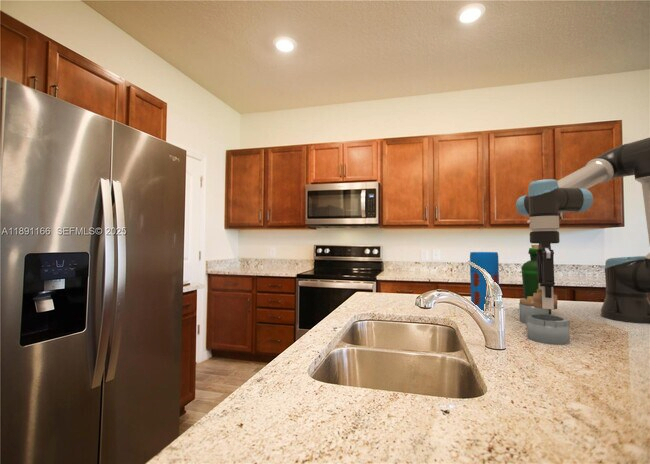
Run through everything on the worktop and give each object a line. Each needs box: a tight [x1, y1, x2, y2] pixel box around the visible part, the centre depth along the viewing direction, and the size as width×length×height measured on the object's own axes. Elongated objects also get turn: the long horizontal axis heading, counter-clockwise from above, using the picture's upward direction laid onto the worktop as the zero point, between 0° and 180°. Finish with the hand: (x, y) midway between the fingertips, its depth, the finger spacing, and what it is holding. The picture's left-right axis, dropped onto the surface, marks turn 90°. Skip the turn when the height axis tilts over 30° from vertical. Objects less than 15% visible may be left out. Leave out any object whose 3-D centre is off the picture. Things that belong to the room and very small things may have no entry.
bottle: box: [520, 244, 552, 315], centre depth 129 cm, size 11×11×28 cm
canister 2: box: [526, 314, 571, 346], centre depth 97 cm, size 11×11×6 cm
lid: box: [533, 289, 558, 311], centre depth 97 cm, size 6×6×5 cm
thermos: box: [469, 251, 500, 311], centre depth 135 cm, size 11×11×25 cm
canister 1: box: [518, 296, 549, 324], centre depth 117 cm, size 9×9×9 cm
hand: (546, 306), depth 97 cm, fingers closed on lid, 6 cm apart
